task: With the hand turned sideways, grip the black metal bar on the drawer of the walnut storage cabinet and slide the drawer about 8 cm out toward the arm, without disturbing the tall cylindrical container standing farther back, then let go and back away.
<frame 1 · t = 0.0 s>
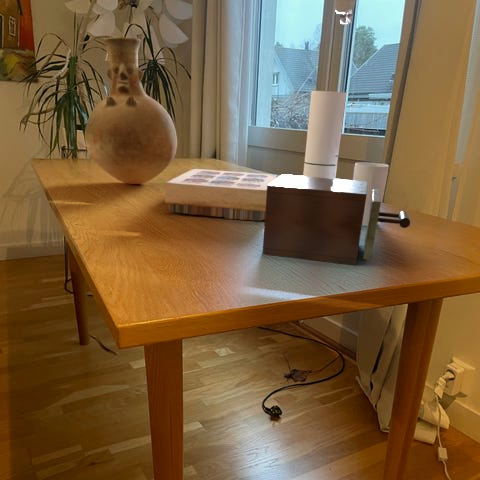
hand: (343, 18, 68), 34 cm above the table, tool pointing down, fingers open, 8 cm apart
cabinet: (312, 248, 82), on the table
vase: (134, 184, 132), on the table
mug: (363, 222, 103), on the table
drawer: (348, 220, 78), point 5 cm above the table, slide at 1.0 cm
cylindrical container: (315, 213, 109), on the table
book: (220, 205, 112), on the table
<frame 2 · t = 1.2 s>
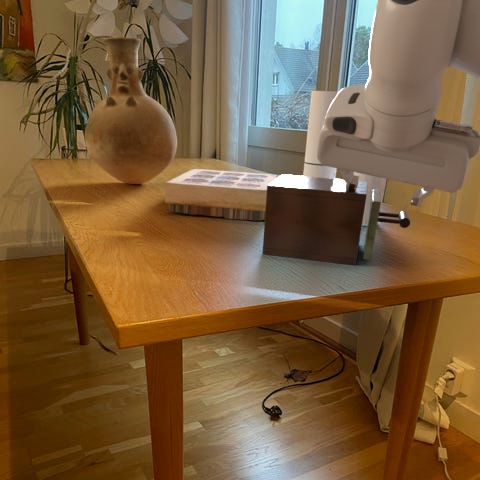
hand: (383, 195, 71), 11 cm above the table, tool tilted 35°, fingers open, 8 cm apart
nothing on the table moved.
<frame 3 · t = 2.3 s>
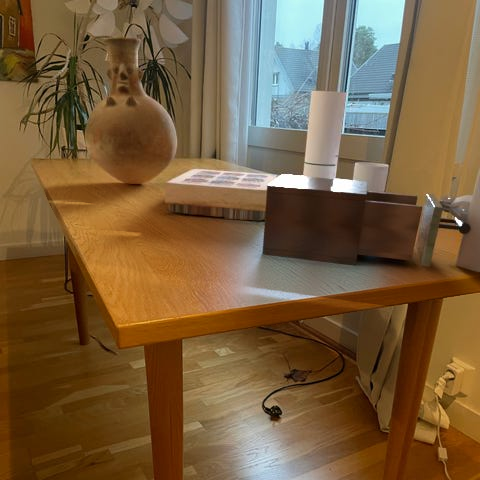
hand: (440, 202, 74), 10 cm above the table, tool horizontal, fingers closed, pressing on drawer
drawer: (403, 226, 77), point 6 cm above the table, slide at 9.7 cm, touching gripper
everything else where it was.
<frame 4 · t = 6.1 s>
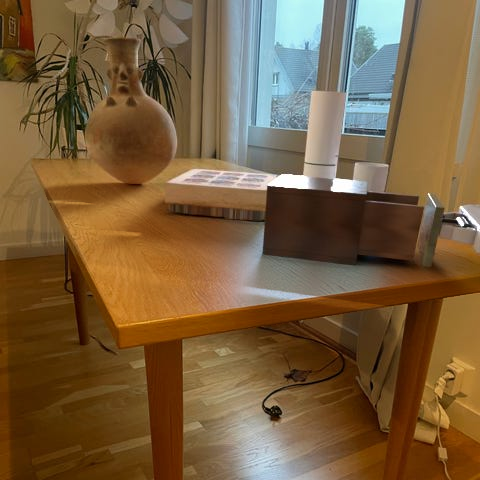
hand: (435, 224, 75), 6 cm above the table, tool horizontal, fingers open, 8 cm apart
drawer: (405, 226, 76), point 6 cm above the table, slide at 10.0 cm, touching gripper
everything else where it was.
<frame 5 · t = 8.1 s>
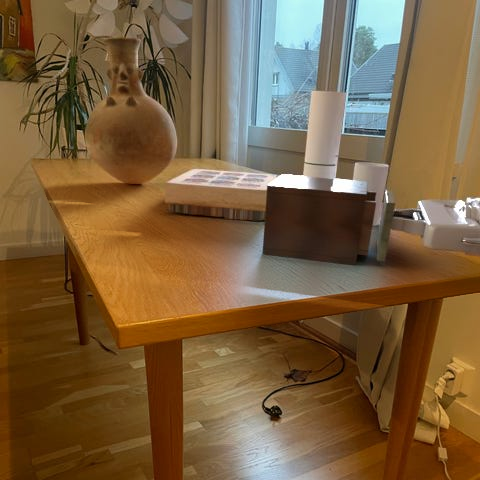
hand: (390, 218, 77), 6 cm above the table, tool horizontal, fingers closed on drawer, 5 cm apart
drawer: (361, 221, 78), point 5 cm above the table, slide at 3.1 cm, touching gripper
everything else where it was.
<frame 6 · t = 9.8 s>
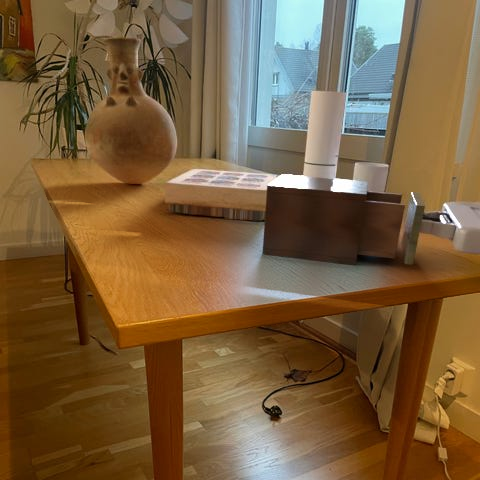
hand: (417, 221, 76), 6 cm above the table, tool horizontal, fingers closed on drawer, 5 cm apart
drawer: (387, 224, 77), point 6 cm above the table, slide at 7.3 cm, touching gripper
everything else where it was.
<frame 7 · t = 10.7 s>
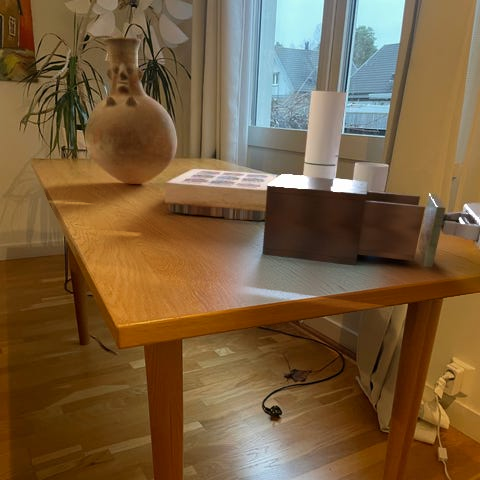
hand: (439, 222, 75), 7 cm above the table, tool horizontal, fingers closed on drawer, 5 cm apart
drawer: (406, 226, 76), point 6 cm above the table, slide at 10.1 cm, touching gripper
everything else where it was.
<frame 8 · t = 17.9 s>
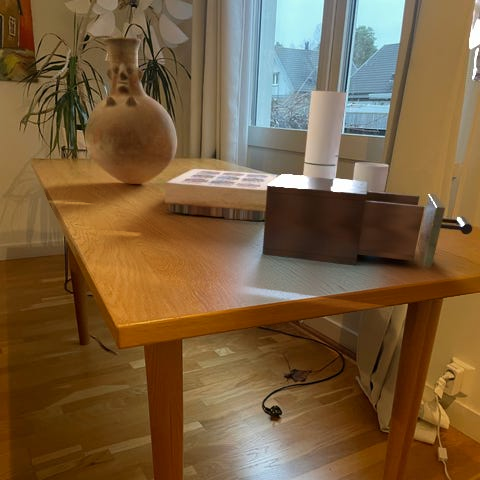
drawer: (405, 226, 76), point 6 cm above the table, slide at 10.0 cm
everything else where it was.
at the end: drawer slide at 10.0 cm; the gripper is holding nothing; cylindrical container moved 0.2 cm from its start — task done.
